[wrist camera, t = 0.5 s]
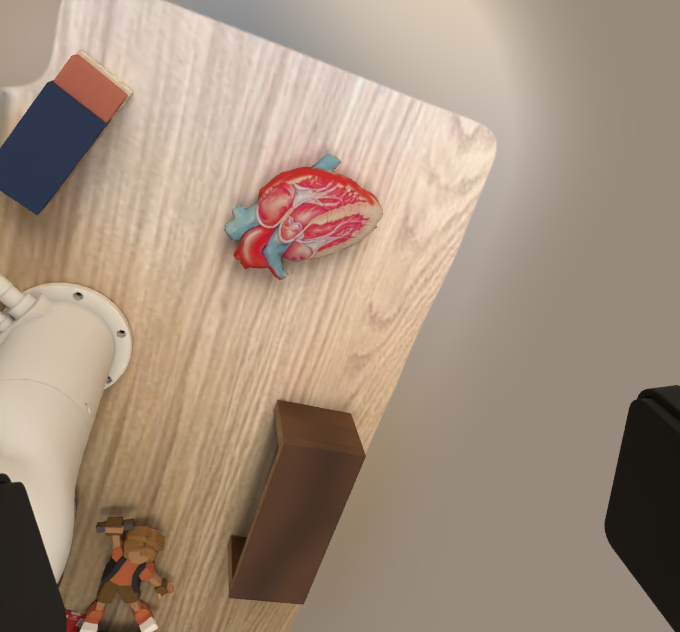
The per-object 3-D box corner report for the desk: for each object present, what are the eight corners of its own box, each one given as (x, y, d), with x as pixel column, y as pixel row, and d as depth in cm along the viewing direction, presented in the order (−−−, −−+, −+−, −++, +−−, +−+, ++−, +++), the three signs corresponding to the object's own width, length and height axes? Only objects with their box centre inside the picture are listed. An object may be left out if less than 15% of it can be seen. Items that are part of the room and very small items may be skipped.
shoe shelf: (227, 545, 77) (228, 598, 69) (277, 399, 69) (284, 442, 62) (295, 552, 79) (303, 604, 72) (351, 413, 71) (366, 456, 64)
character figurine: (51, 630, 73) (96, 534, 66) (62, 593, 77) (105, 499, 70) (150, 646, 77) (202, 557, 70) (155, 610, 81) (205, 522, 74)
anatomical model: (384, 219, 62) (395, 232, 58) (254, 284, 62) (255, 300, 59) (347, 134, 58) (356, 141, 54) (208, 204, 58) (206, 216, 54)
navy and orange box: (48, 204, 56) (33, 220, 51) (-4, 168, 54) (-24, 181, 49) (133, 91, 53) (126, 97, 48) (82, 49, 51) (69, 51, 46)
